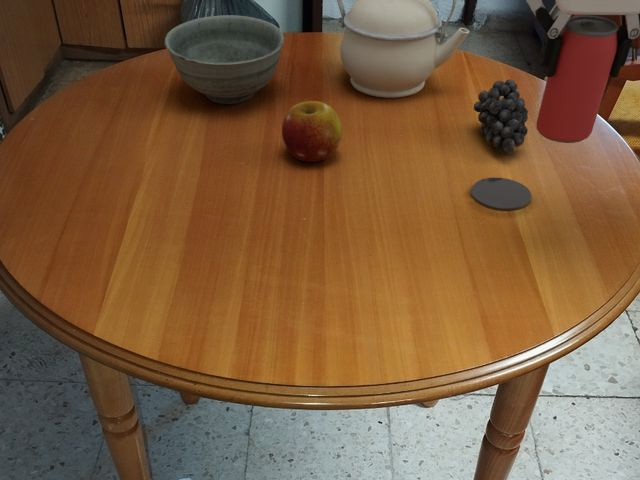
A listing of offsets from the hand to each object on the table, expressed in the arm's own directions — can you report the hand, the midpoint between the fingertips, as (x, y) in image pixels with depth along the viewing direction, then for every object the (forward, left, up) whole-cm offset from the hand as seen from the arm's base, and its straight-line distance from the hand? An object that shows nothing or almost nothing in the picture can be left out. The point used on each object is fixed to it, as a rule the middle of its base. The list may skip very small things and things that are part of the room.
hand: (579, 71), depth 77 cm
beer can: (0, 0, -7) cm, 7 cm away
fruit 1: (+31, -23, -23) cm, 45 cm away
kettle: (+16, -52, -23) cm, 59 cm away
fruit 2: (0, -29, -23) cm, 37 cm away
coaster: (+2, -12, -22) cm, 26 cm away
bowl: (+47, -46, -23) cm, 70 cm away
